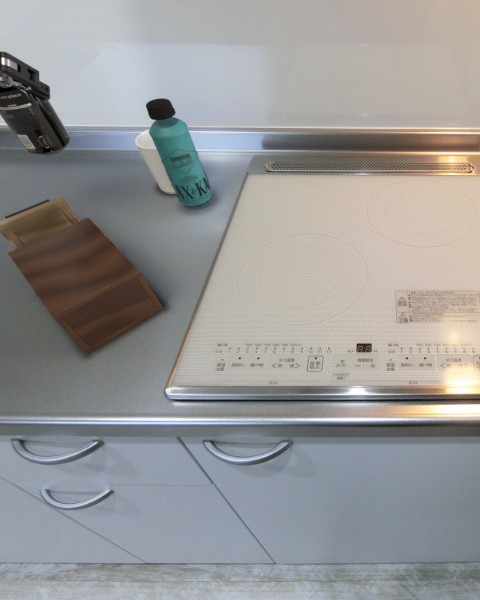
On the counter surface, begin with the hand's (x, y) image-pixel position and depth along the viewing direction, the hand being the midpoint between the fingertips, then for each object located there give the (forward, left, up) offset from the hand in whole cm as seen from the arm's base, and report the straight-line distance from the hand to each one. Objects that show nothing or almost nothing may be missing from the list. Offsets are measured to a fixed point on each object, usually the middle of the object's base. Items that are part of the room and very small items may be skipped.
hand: (24, 93), depth 68 cm
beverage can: (+1, -1, -9) cm, 9 cm away
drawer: (+10, -9, -22) cm, 26 cm away
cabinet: (+24, -9, -22) cm, 34 cm away
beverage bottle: (+12, +15, -23) cm, 30 cm away
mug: (+2, +16, -23) cm, 28 cm away
